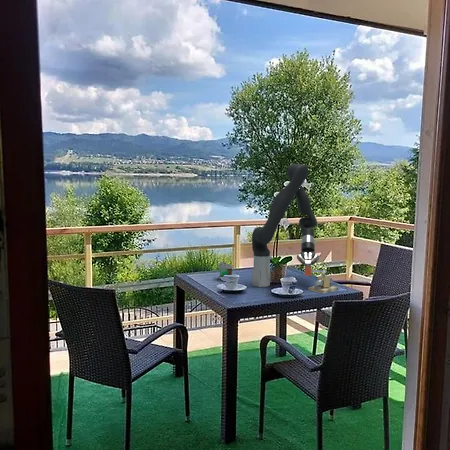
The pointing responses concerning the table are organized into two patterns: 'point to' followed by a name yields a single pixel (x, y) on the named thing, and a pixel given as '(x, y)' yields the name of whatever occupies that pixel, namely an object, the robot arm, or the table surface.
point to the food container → (225, 269)
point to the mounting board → (324, 289)
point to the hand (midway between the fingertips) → (307, 270)
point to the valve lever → (309, 270)
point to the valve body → (323, 282)
